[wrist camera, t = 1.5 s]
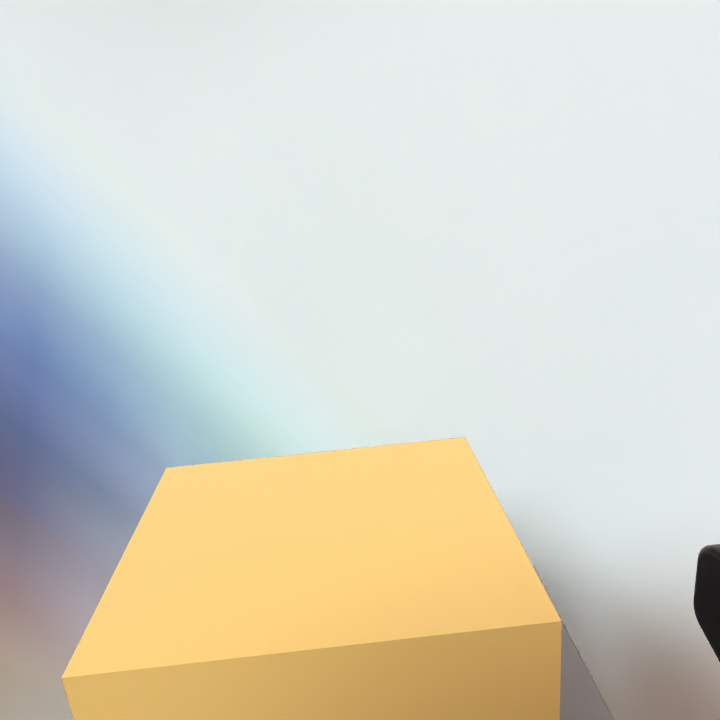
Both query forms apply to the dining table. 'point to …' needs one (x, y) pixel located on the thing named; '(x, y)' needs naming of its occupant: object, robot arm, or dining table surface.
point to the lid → (323, 597)
